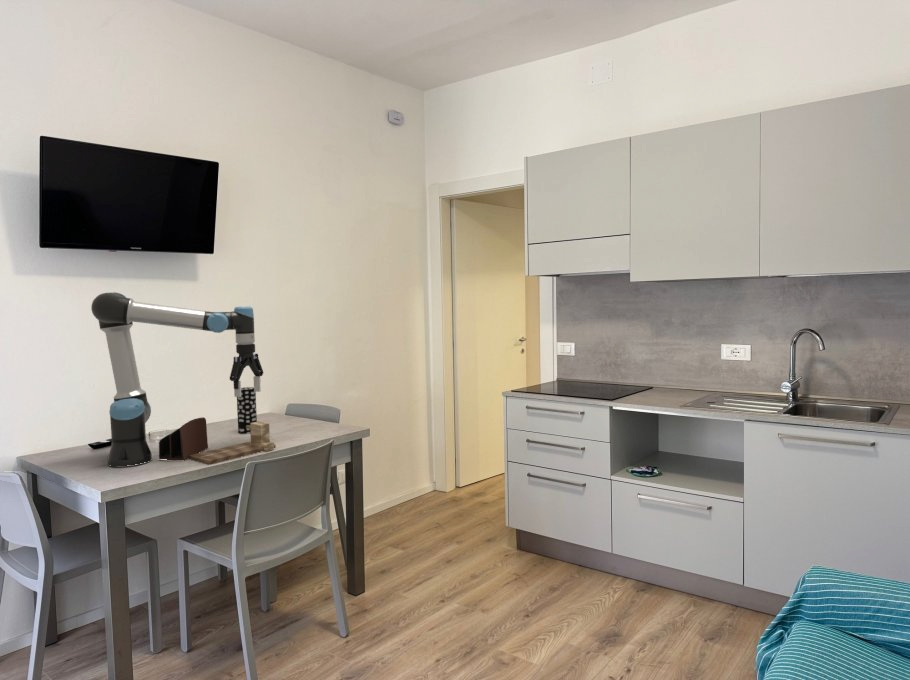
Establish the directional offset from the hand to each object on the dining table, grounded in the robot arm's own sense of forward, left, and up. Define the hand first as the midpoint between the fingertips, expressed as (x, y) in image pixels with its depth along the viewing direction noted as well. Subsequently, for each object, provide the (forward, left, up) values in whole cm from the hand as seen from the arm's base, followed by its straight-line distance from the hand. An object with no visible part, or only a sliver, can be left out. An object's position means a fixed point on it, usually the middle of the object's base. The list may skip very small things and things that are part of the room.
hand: (247, 394), depth 271 cm
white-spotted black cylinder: (+14, +22, -22) cm, 34 cm away
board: (-14, -8, -21) cm, 27 cm away
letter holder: (-25, +8, -22) cm, 34 cm away
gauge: (-3, -10, -21) cm, 23 cm away
